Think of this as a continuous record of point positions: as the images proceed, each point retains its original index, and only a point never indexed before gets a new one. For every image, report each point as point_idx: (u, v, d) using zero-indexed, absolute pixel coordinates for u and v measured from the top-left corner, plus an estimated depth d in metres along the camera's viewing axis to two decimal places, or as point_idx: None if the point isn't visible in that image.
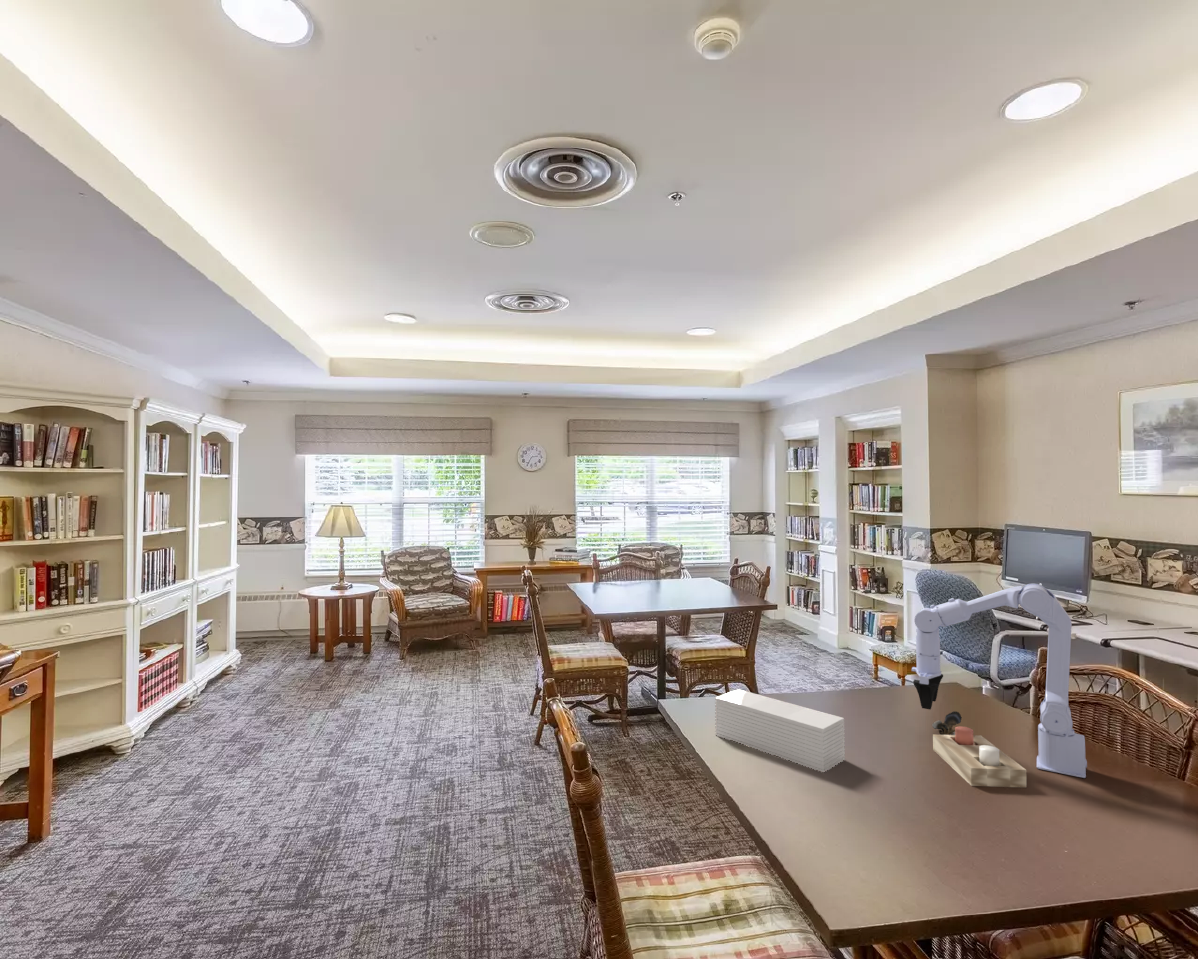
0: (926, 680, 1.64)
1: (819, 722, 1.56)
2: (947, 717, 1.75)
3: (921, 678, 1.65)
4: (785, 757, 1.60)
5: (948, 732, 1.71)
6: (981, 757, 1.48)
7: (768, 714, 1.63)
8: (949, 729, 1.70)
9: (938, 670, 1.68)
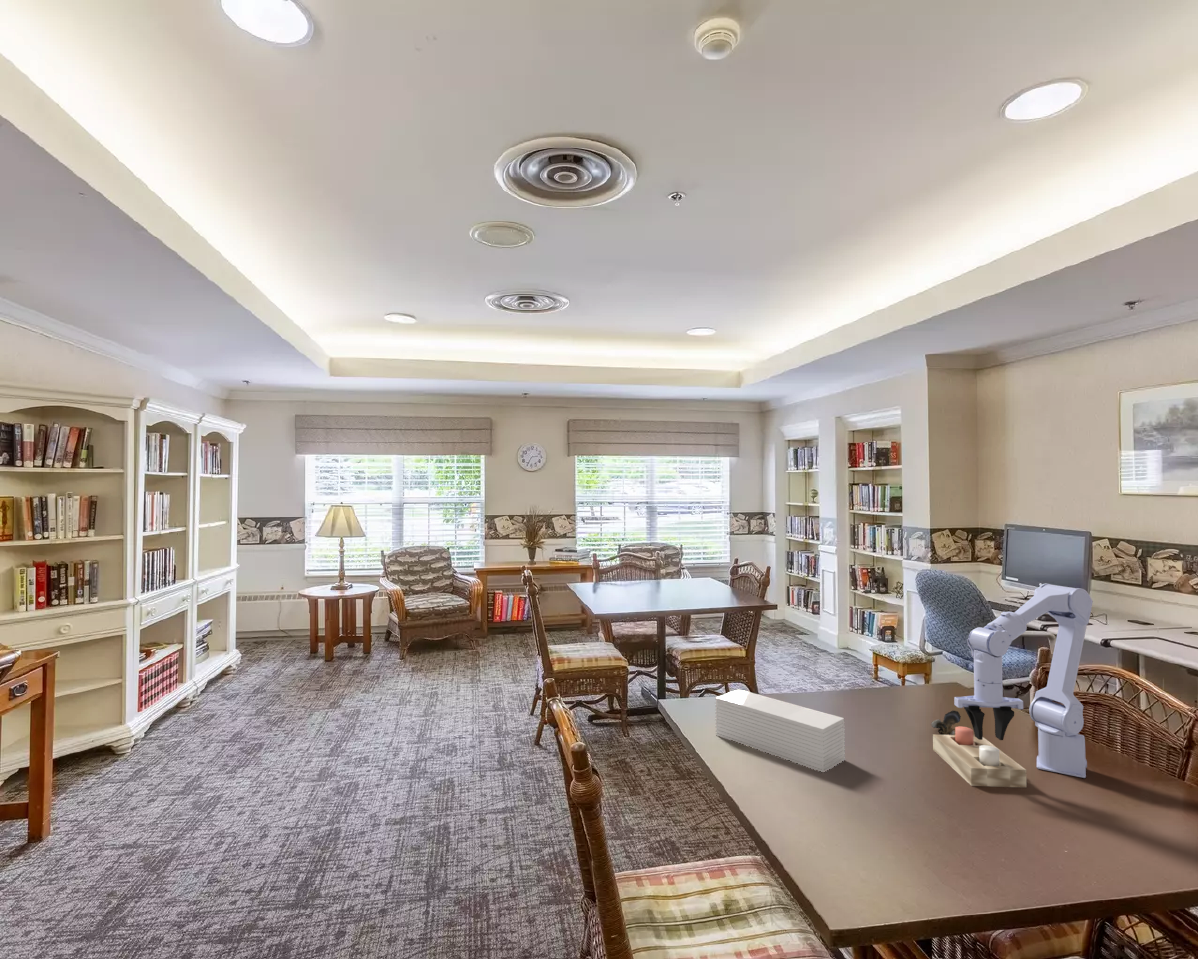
0: (957, 702, 1.49)
1: (819, 723, 1.56)
2: (946, 716, 1.75)
3: (955, 699, 1.50)
4: (785, 757, 1.60)
5: (947, 731, 1.71)
6: (981, 757, 1.48)
7: (768, 714, 1.63)
8: (948, 728, 1.71)
9: (989, 700, 1.47)
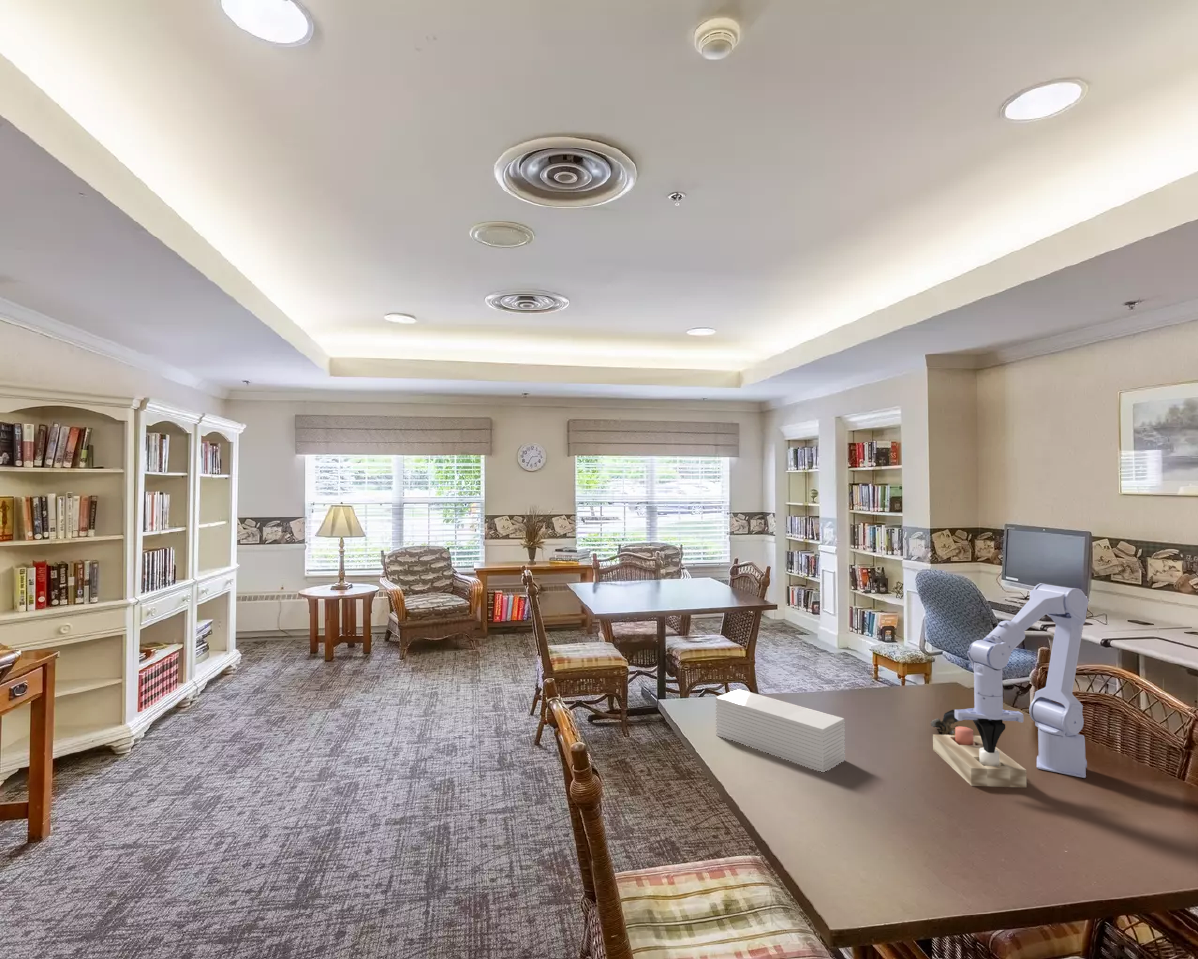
0: (957, 715, 1.49)
1: (819, 723, 1.56)
2: (945, 715, 1.76)
3: (955, 712, 1.50)
4: (785, 757, 1.60)
5: (946, 730, 1.72)
6: (981, 760, 1.48)
7: (768, 714, 1.63)
8: (947, 727, 1.72)
9: (989, 712, 1.46)
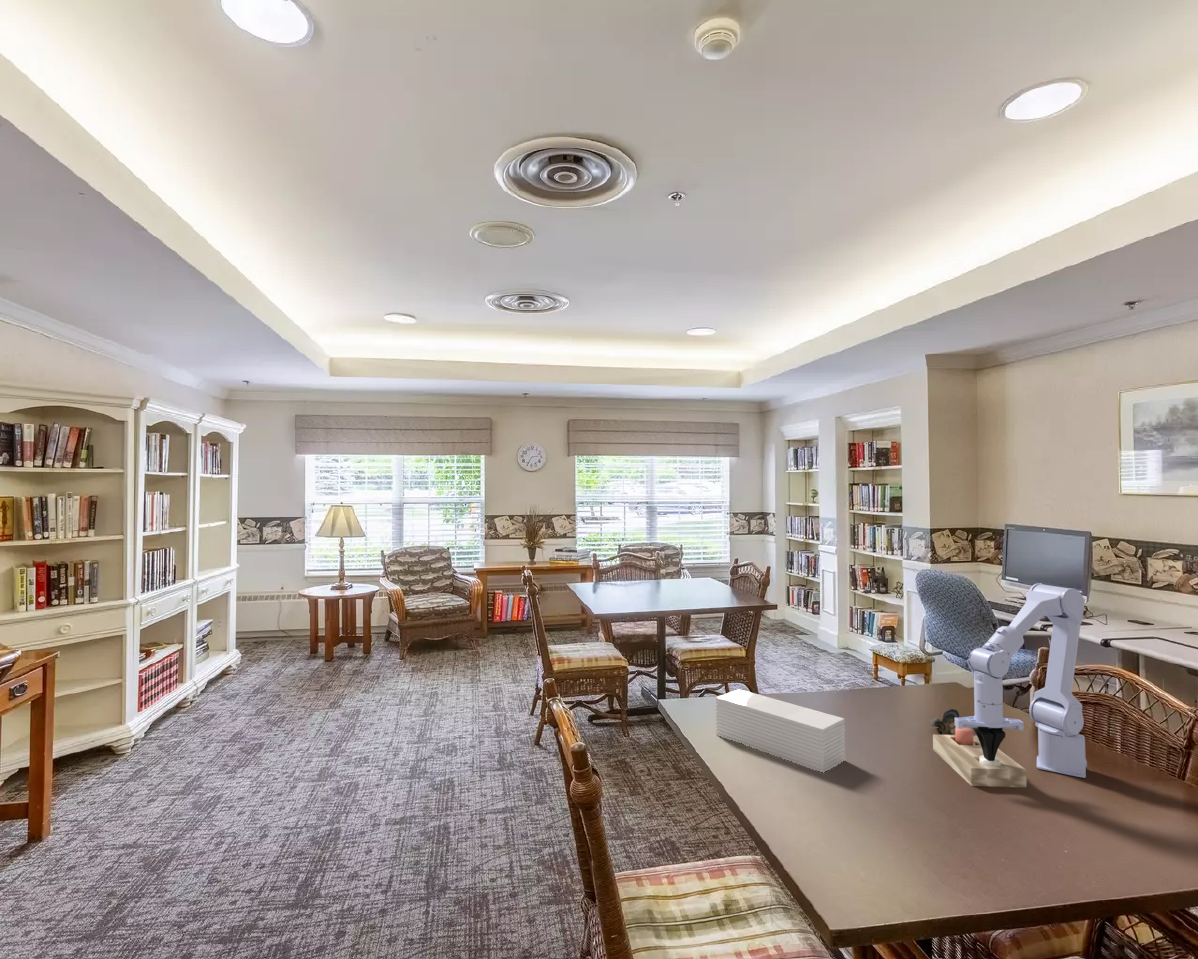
0: (957, 723, 1.49)
1: (819, 723, 1.56)
2: (945, 715, 1.76)
3: (955, 720, 1.50)
4: (785, 757, 1.60)
5: (946, 729, 1.72)
6: None
7: (768, 714, 1.63)
8: (947, 726, 1.72)
9: (989, 721, 1.46)
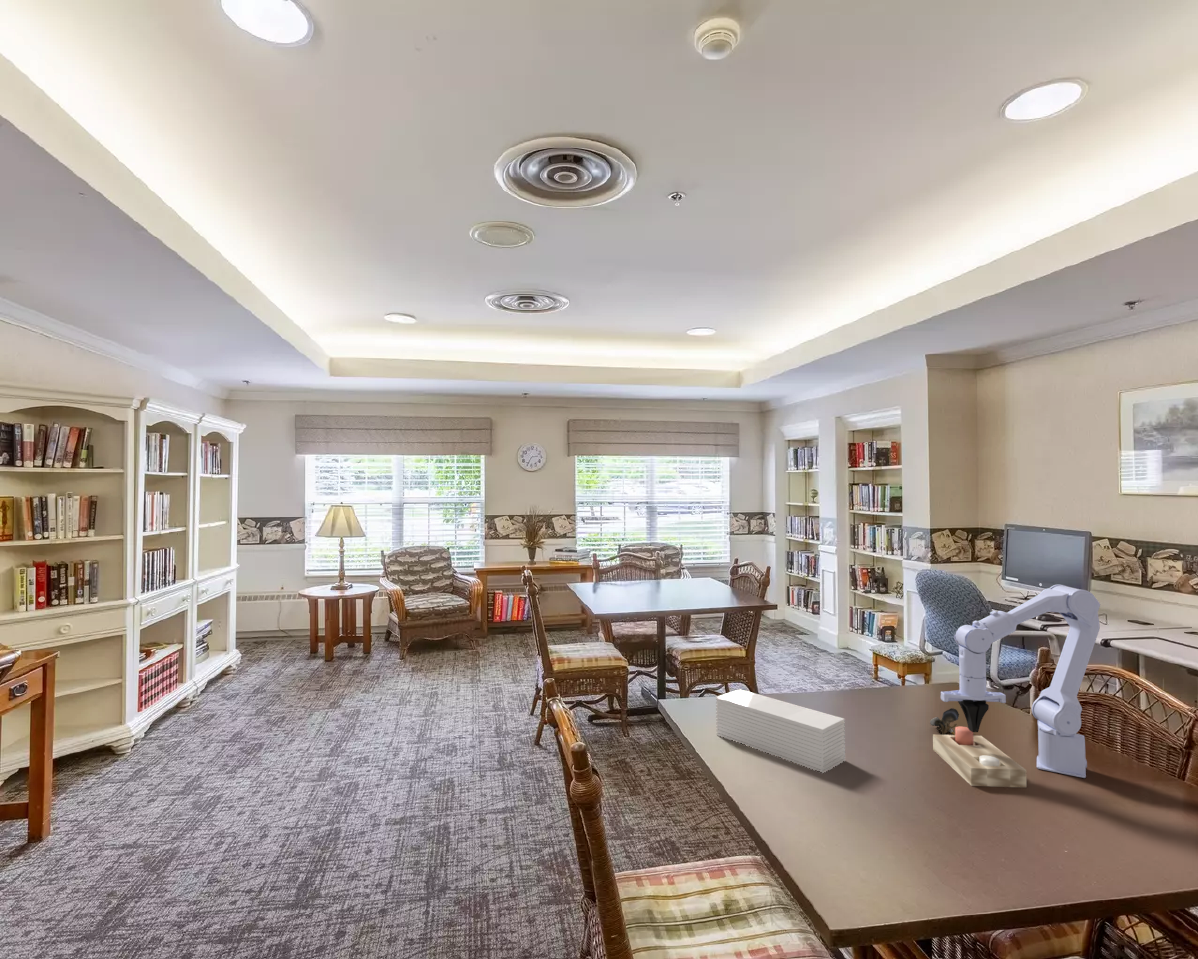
0: (943, 697, 1.56)
1: (819, 723, 1.56)
2: (945, 714, 1.77)
3: (941, 694, 1.57)
4: (785, 757, 1.60)
5: (946, 729, 1.73)
6: None
7: (768, 714, 1.63)
8: (946, 726, 1.73)
9: (973, 694, 1.54)
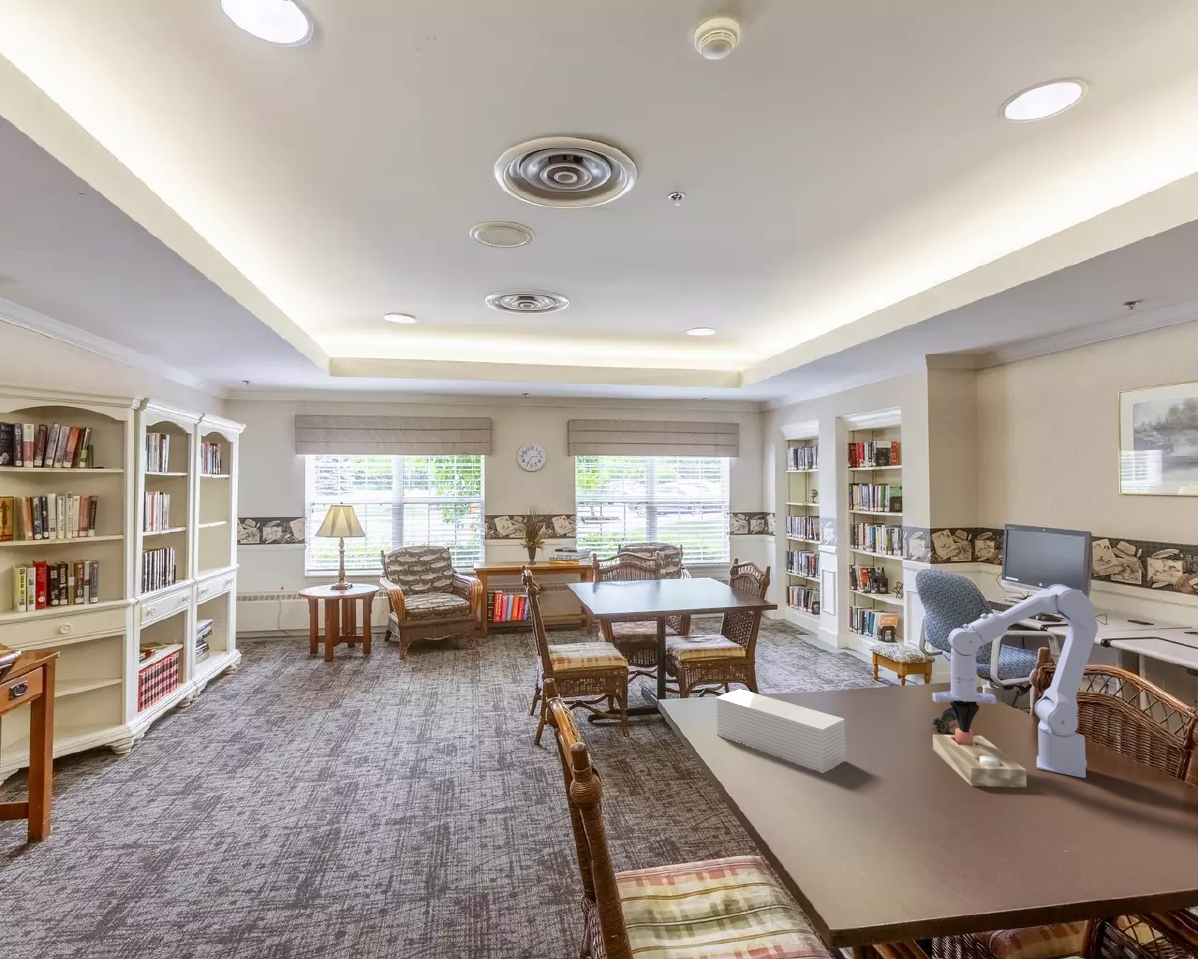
0: (935, 698, 1.61)
1: (819, 723, 1.56)
2: (944, 713, 1.77)
3: (933, 695, 1.62)
4: (785, 757, 1.60)
5: (945, 728, 1.73)
6: None
7: (769, 714, 1.63)
8: (946, 725, 1.73)
9: (963, 695, 1.58)
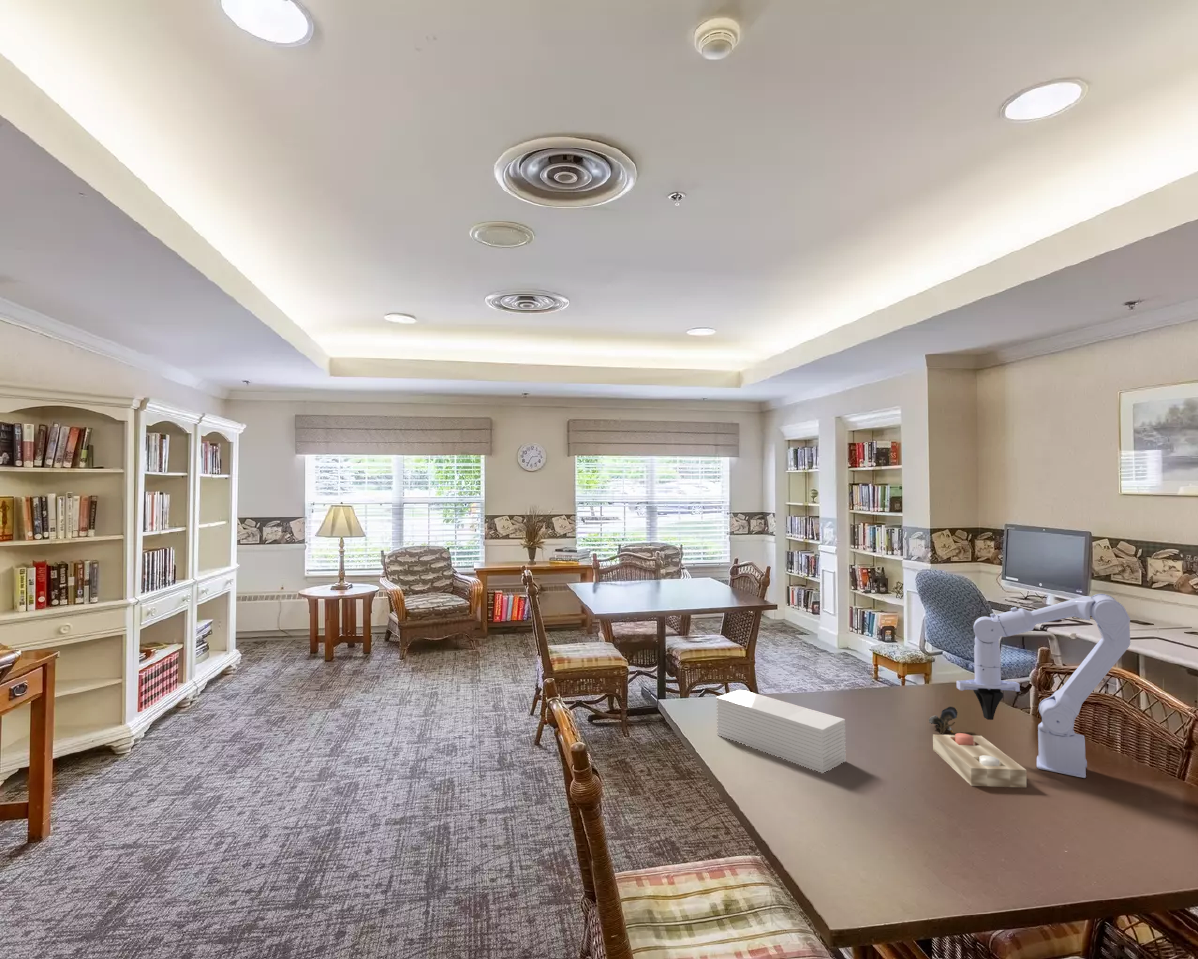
0: (959, 685, 1.62)
1: (819, 723, 1.56)
2: (943, 712, 1.78)
3: (957, 683, 1.63)
4: (785, 757, 1.60)
5: (944, 727, 1.74)
6: None
7: (769, 714, 1.63)
8: (945, 724, 1.74)
9: (988, 682, 1.60)
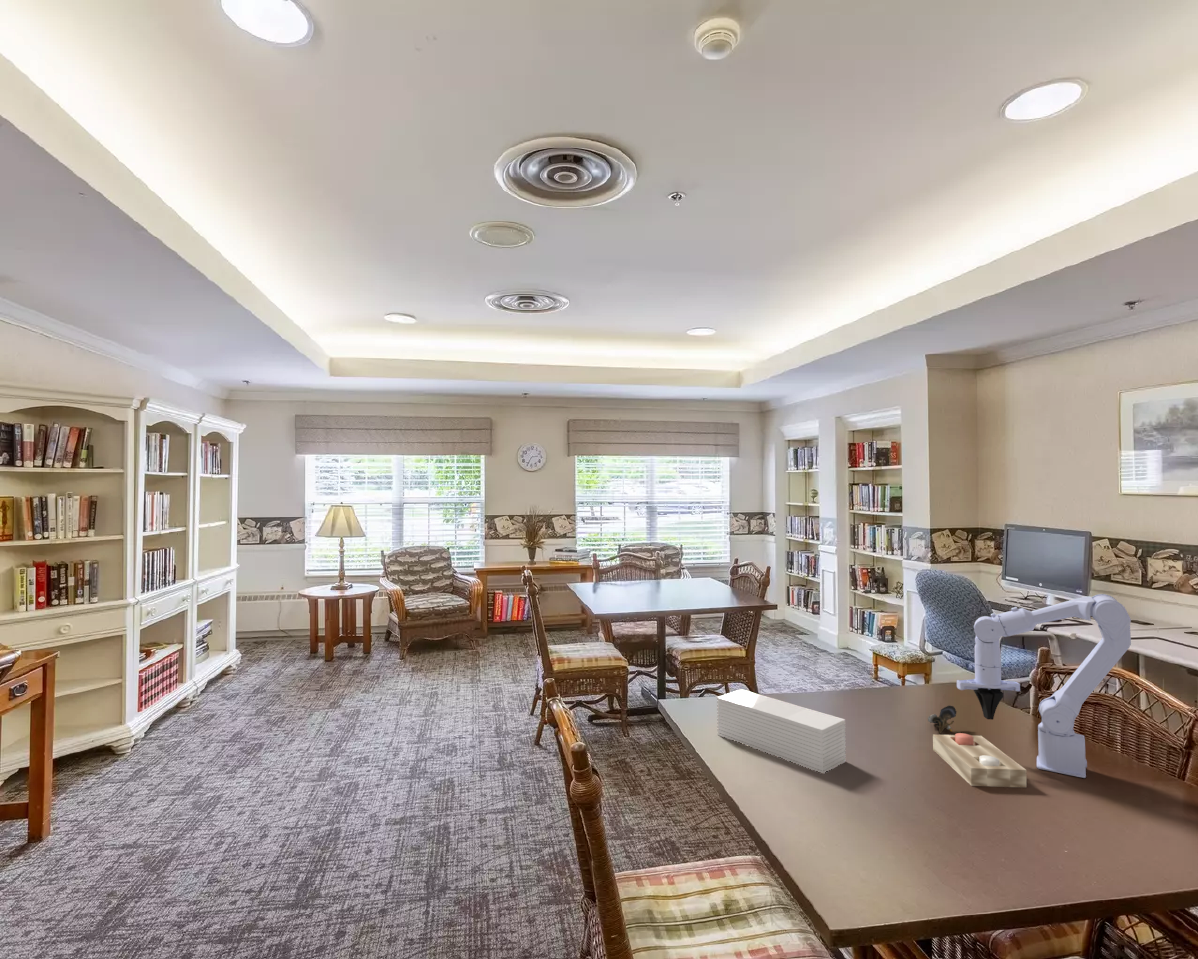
0: (959, 685, 1.62)
1: (819, 723, 1.56)
2: (942, 711, 1.79)
3: (957, 682, 1.63)
4: (785, 758, 1.60)
5: (943, 725, 1.75)
6: None
7: (769, 714, 1.63)
8: (944, 722, 1.75)
9: (988, 682, 1.60)
